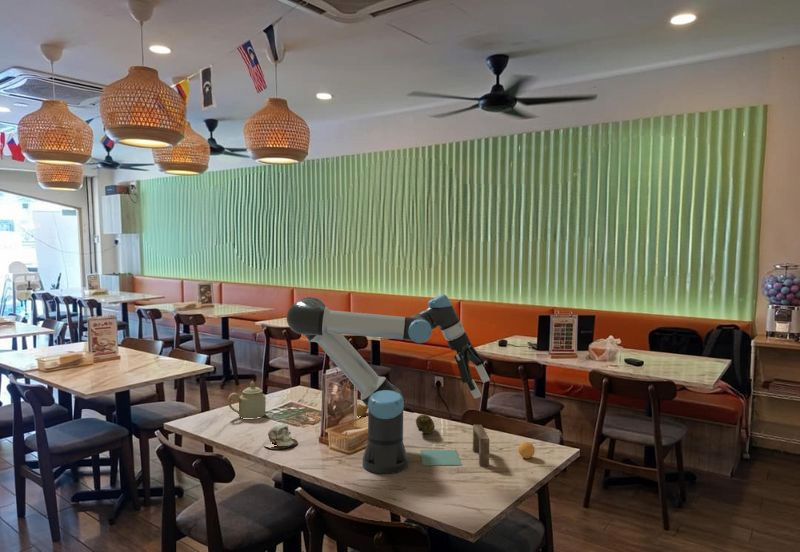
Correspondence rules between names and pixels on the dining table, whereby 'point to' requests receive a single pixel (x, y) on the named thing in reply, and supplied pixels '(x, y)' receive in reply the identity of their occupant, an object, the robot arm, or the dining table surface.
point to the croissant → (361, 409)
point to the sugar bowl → (250, 402)
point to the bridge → (481, 444)
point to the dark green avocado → (425, 424)
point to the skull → (281, 436)
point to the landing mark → (440, 457)
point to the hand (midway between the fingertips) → (482, 389)
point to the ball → (526, 449)
